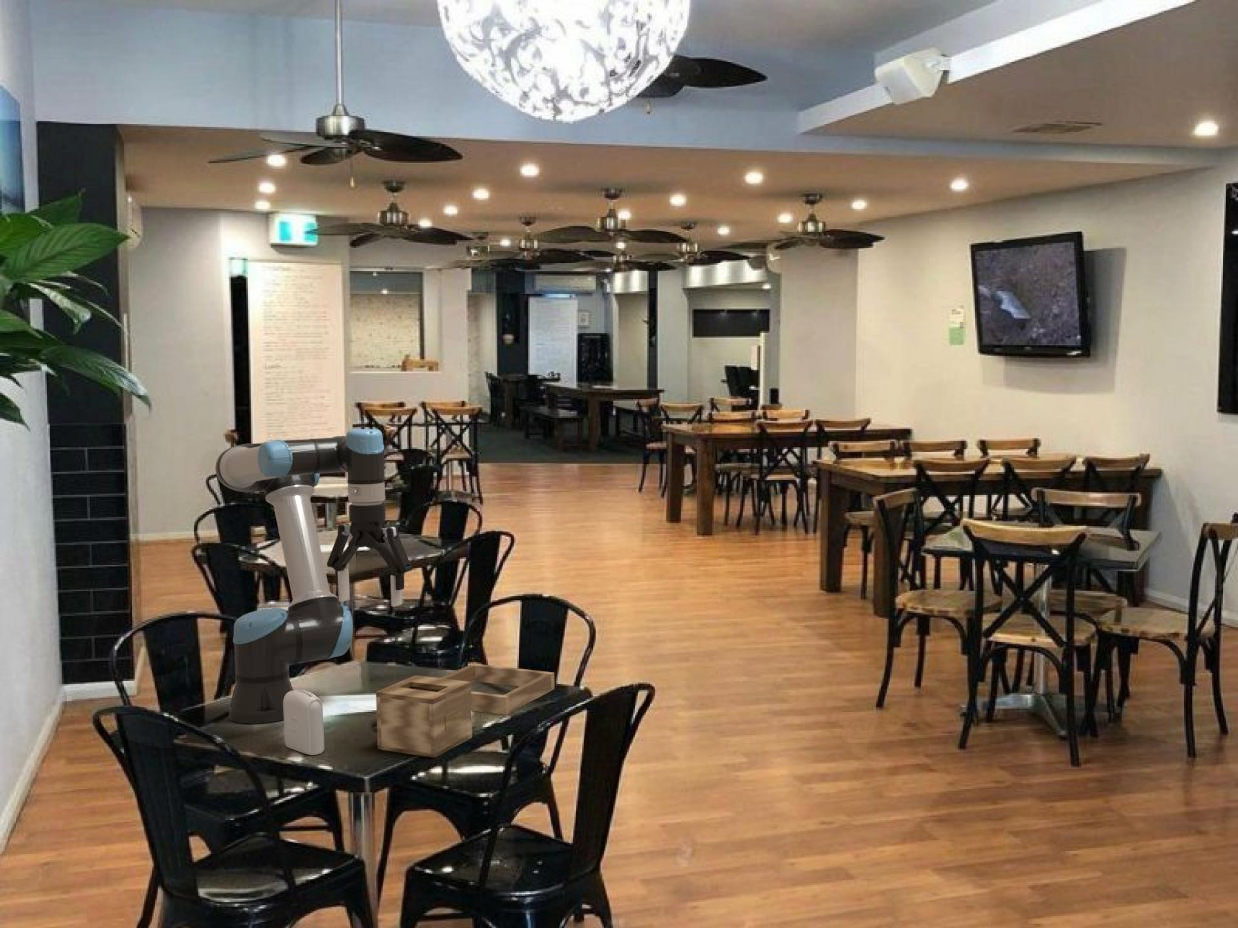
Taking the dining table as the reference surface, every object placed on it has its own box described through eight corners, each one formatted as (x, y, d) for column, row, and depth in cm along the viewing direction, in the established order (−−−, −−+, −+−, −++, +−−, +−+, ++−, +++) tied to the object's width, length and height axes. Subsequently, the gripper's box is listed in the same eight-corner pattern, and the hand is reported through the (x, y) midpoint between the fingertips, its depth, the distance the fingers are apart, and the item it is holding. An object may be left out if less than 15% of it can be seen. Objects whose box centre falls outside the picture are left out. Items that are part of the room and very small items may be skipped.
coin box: (377, 748, 245) (375, 691, 244) (417, 729, 258) (415, 675, 257) (435, 757, 239) (433, 699, 238) (473, 737, 252) (471, 681, 251)
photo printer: (281, 746, 248) (279, 688, 247) (300, 741, 251) (297, 684, 250) (309, 757, 241) (307, 697, 240) (327, 752, 244) (325, 693, 243)
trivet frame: (420, 703, 277) (419, 686, 277) (473, 679, 298) (472, 663, 298) (505, 714, 268) (505, 697, 267) (554, 688, 288) (554, 672, 288)
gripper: (307, 502, 252) (311, 601, 254) (405, 507, 241) (408, 610, 243) (330, 498, 259) (334, 595, 260) (426, 503, 248) (429, 603, 250)
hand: (370, 602), depth 252 cm, fingers open, 13 cm apart
